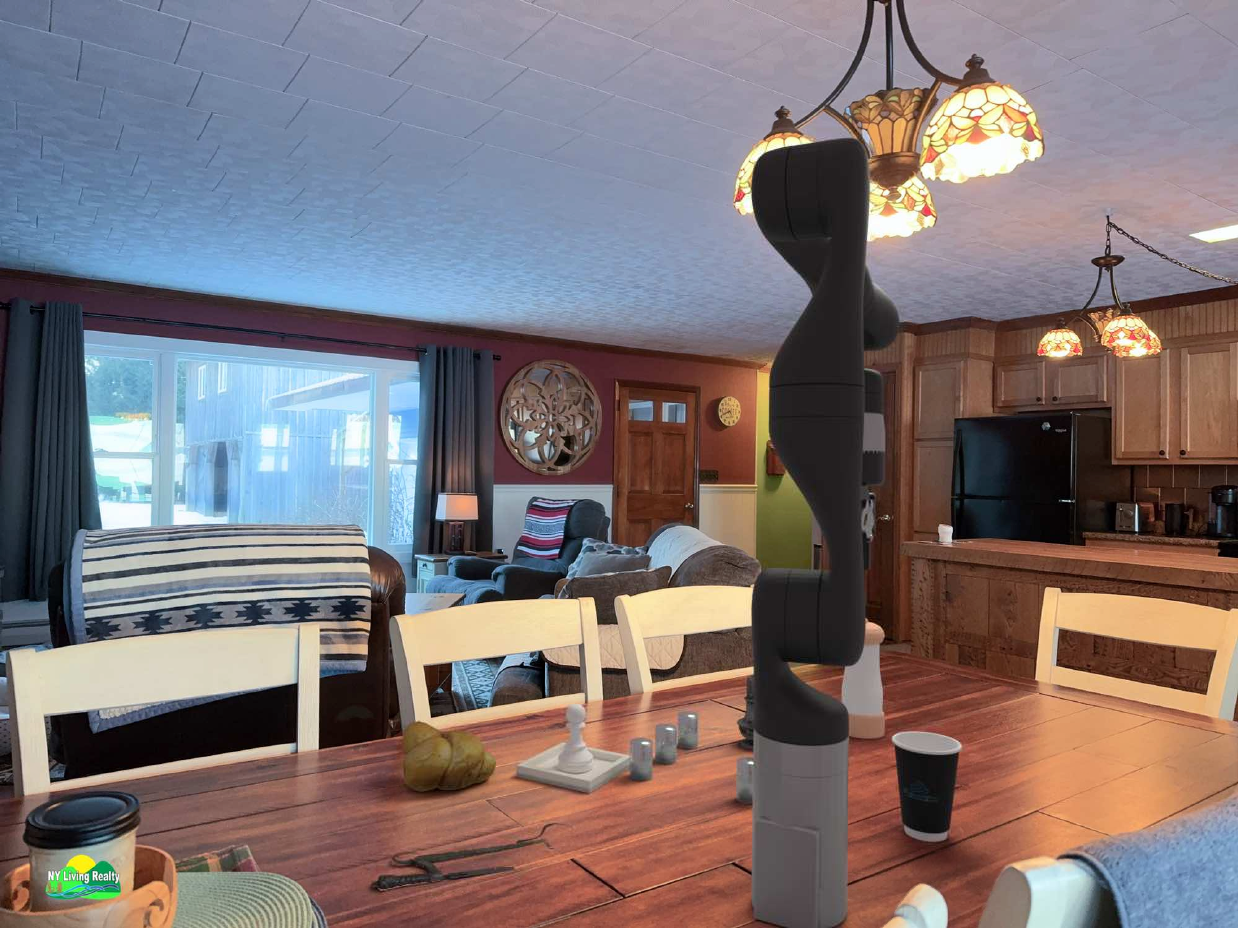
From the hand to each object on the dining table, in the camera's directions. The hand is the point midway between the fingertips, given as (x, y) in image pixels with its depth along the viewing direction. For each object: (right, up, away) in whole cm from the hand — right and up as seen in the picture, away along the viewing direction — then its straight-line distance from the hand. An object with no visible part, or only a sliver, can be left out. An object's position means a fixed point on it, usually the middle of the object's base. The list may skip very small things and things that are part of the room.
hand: (853, 572), depth 111 cm
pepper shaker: (+10, -31, +30) cm, 44 cm away
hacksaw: (-46, -30, -17) cm, 58 cm away
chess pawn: (-37, -29, +9) cm, 48 cm away
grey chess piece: (-9, -31, +23) cm, 39 cm away
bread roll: (-54, -30, +4) cm, 62 cm away
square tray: (-37, -30, +10) cm, 49 cm away
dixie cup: (+6, -30, -10) cm, 32 cm away
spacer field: (-17, -30, +11) cm, 36 cm away
